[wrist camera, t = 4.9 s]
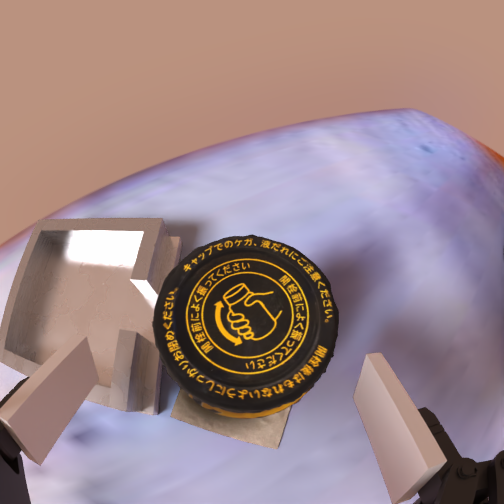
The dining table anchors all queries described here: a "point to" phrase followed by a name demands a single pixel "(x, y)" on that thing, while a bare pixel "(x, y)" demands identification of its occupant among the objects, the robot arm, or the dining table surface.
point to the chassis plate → (93, 303)
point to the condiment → (244, 335)
